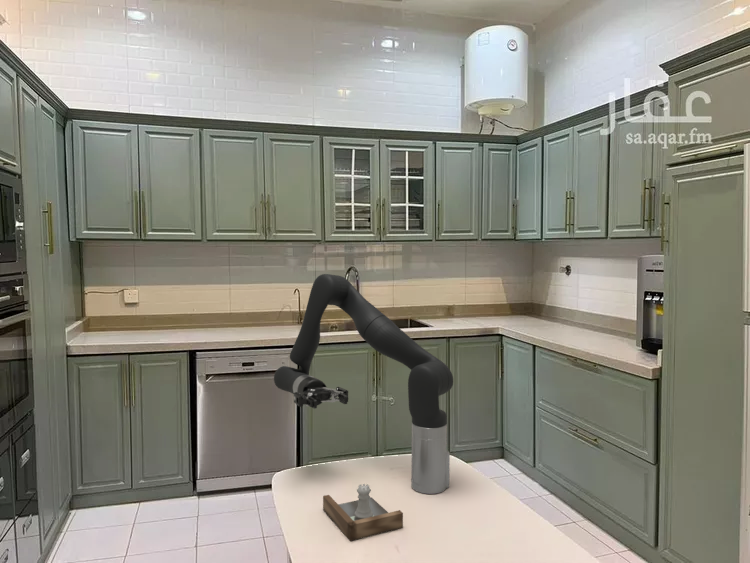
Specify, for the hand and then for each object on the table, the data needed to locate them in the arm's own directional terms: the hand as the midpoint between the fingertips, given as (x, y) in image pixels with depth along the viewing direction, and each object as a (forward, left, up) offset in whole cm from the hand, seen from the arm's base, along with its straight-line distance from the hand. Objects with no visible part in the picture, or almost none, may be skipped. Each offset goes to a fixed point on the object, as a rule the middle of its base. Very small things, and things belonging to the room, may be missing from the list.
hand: (331, 402), depth 141 cm
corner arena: (-1, +18, -23) cm, 29 cm away
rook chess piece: (0, +20, -23) cm, 30 cm away
